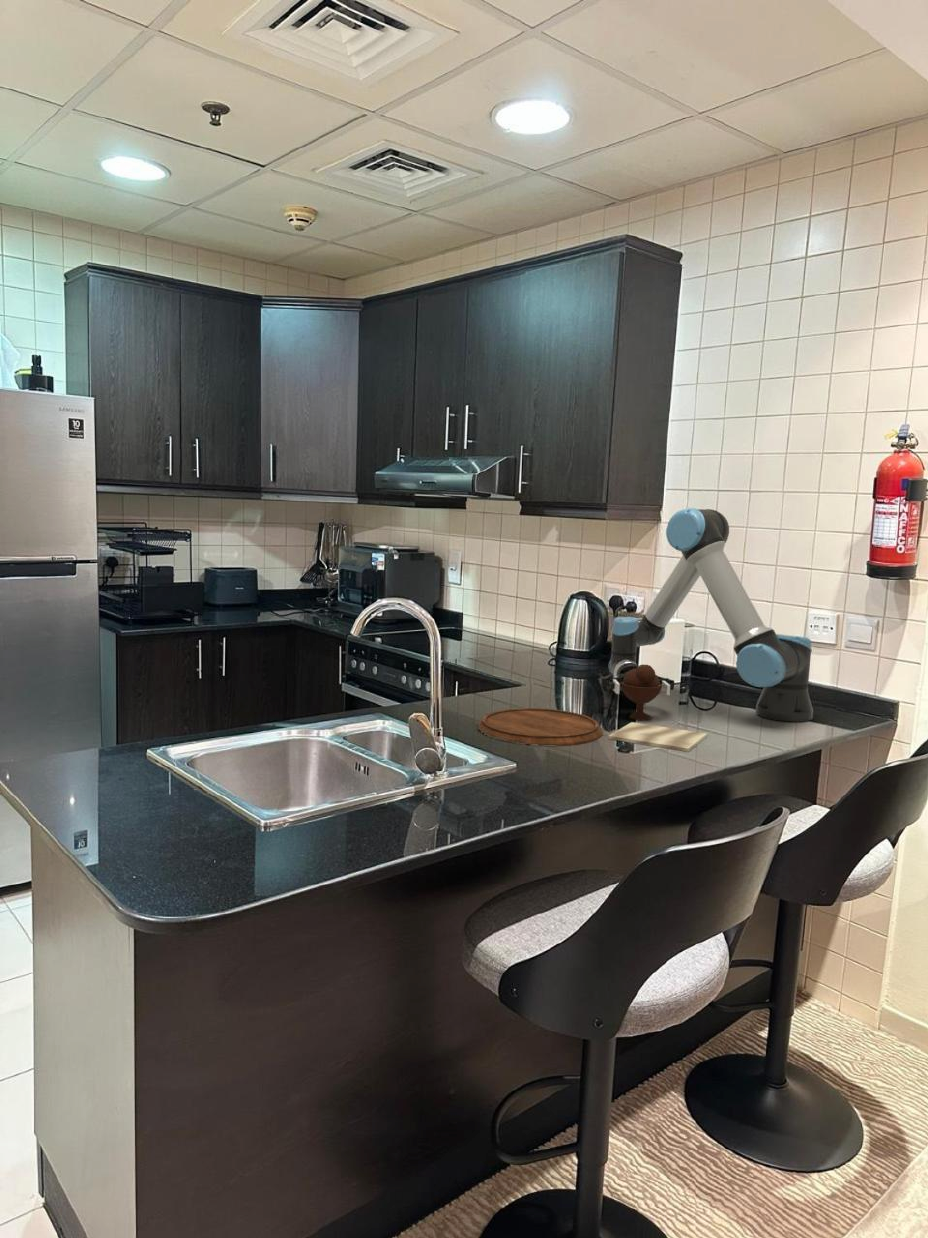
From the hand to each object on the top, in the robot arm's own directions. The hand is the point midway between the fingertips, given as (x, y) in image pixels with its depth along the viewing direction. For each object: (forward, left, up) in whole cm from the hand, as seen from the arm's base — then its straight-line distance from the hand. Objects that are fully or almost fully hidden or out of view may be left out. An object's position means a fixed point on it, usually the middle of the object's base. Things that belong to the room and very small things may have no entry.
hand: (643, 689), depth 234 cm
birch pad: (-9, +15, -9) cm, 20 cm away
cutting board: (+19, +25, -9) cm, 33 cm away
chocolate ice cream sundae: (+2, -3, -9) cm, 9 cm away
